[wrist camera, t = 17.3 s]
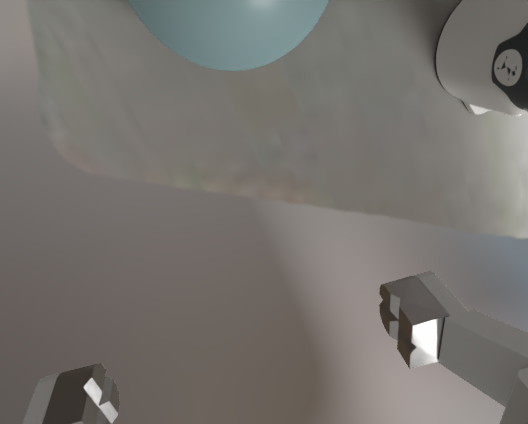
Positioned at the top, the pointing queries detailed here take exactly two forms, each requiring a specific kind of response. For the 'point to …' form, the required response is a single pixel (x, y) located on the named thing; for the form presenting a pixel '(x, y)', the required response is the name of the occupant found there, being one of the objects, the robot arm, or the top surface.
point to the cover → (229, 29)
